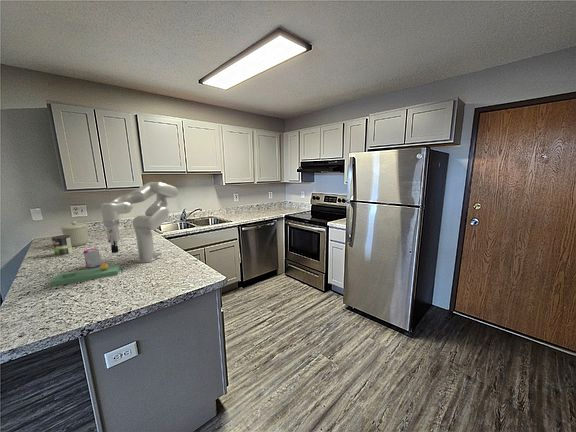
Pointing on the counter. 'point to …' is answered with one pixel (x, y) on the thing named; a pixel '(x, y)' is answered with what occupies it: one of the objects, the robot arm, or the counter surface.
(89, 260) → the supplement box
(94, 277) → the green
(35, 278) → the counter surface
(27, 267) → the counter surface
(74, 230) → the canister
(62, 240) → the coffee can
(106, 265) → the ball
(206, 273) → the counter surface
